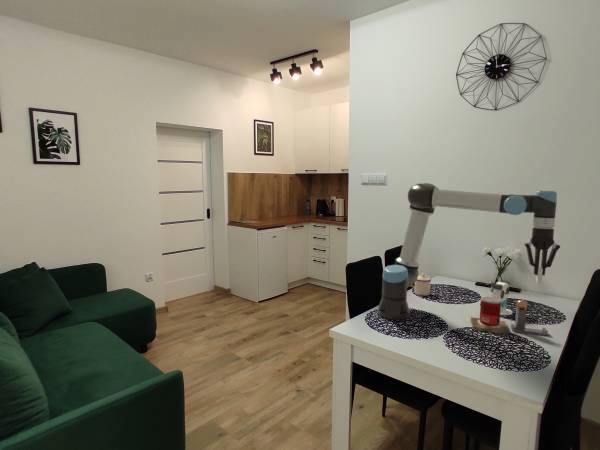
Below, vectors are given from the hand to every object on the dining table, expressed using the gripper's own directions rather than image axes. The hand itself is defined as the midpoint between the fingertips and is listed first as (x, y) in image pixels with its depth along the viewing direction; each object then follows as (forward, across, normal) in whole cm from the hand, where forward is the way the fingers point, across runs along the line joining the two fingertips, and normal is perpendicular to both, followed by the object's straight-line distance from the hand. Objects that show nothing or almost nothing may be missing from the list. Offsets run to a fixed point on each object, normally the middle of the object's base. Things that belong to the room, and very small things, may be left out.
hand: (538, 282), depth 157 cm
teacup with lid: (+23, -48, +43) cm, 69 cm away
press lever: (+21, -6, 0) cm, 22 cm away
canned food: (+21, -18, 0) cm, 27 cm away
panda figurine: (+23, -10, +25) cm, 35 cm away
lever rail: (+22, -2, 0) cm, 22 cm away
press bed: (+22, -18, 0) cm, 28 cm away
